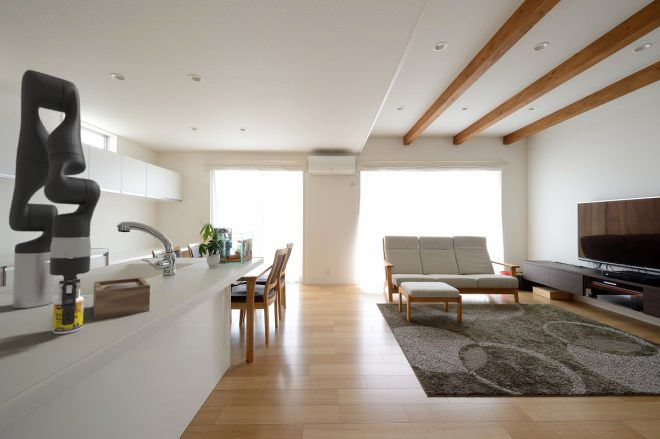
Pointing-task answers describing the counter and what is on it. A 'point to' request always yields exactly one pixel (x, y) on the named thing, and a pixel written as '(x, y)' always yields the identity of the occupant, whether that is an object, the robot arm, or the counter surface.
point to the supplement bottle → (78, 316)
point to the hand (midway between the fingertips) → (68, 320)
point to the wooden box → (120, 297)
